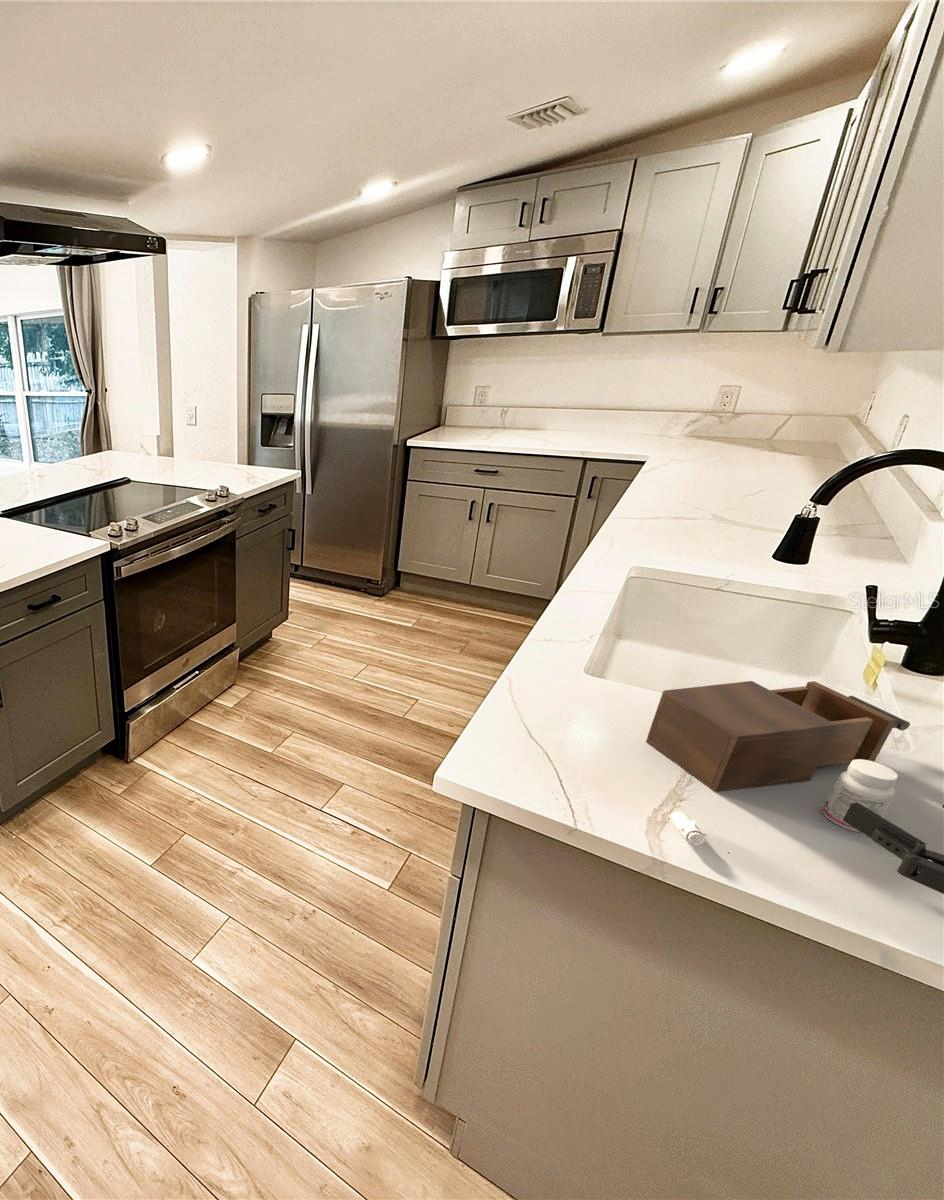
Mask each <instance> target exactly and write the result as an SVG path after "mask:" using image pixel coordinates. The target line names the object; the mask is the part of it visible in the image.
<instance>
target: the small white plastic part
mask: <svg viewBox="0 0 944 1200" xmlns="http://www.w3.org/2000/svg"><path fill="white" fill-rule="evenodd" d="M670 819H671V822H672V823H673V824H674V825H675V826H676V828H677V829H678V831H679V832H680V833H681V834H682V836H683V837H684V838H685V839H686V841H687V842H688V843H690V844H692V845H696V846H700V845H703V844H704V843H705V841H706V836H707V834H706V832H704V831H703V830H702V829H700V827H699V826H698V825H697V824H696V821H695V820H694V819H693V820H692V819H691V817H690V816H689V815H688V814H687V813H685V812H683V811H675V812H673V813H672V814H671V816H670Z"/></svg>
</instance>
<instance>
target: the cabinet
mask: <svg viewBox="0 0 944 1200" xmlns="http://www.w3.org/2000/svg"><path fill="white" fill-rule="evenodd" d="M770 690H771V689H768V688H767V687H765V686H763V685H761V684H759V683H757V682H755V681H753V680H748V681H739V682H728V683H720V684H712V685H702V686H701V685H700V686H692V687H684V688H675V689H673V688H672V689H666V690H665V689H664V690H662V693H661V696H660V699H659V702H658V705H657V708H656V711H655V714H654V716H653V719H652V723H651V725H650V728H649V731H648V733H647V738H646V739H645V742H646V744H648V745H649V746H651V747H652V748H654V749H655V750H656V751H658V752H659V753H661V754H662V755H663V756H665V757H666V758H667V759H669V760H670V761H672V762H673V763H674V764H676V765H677V766H679V767H680V768H682V769H683V770H684V771H686V772H687V773H688V774H690V775H691V776H693V777H694V778H695V779H696V780H698V781H699V782H701V783H702V784H703V785H705V786H706V787H708V788H709V789H710V790H712V791H713V792H714V793H720V792H725V791H734V790H744V789H751V788H760V787H768V786H776V785H784V784H791V783H792V784H793V783H799V782H808V781H811V780H812V778H813V775H814V774H815V771H816V769H817V768H818V766H817V765H818V763H819V761H820V759H821V757H822V755H823V753H824V751H825V749H826V747H827V745H828V743H829V741H830V739H831V737H832V735H833V733H834V731H835V729H836V727H837V725H836V724H834V723H832V722H830V721H828V720H826V719H825V718H823V717H821V716H819V715H817V714H815V713H813V712H811V711H809V710H807V709H805V708H803V707H801V706H799V705H797V704H796V703H794V702H792V701H790V700H788V699H786V698H784V697H782V696H780V695H778V694H776V693H774V692H772V691H770Z"/></svg>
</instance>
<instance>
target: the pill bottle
mask: <svg viewBox="0 0 944 1200" xmlns="http://www.w3.org/2000/svg"><path fill="white" fill-rule="evenodd" d="M898 779H899V775H898V773H897V772H896V771H895V770H894V769H892V768H891V767H888V766H887V765H884V764H882V763H879V762H877V761H874V762H873V761H869V760H862V759H857V760H854V759H853V761H852V762H849V765H848V767H847V769H846V771H843V772H841V773H840V774H839V776H838V778H837V779H836V782H835V783H834V786H833V788H832V789H831V792H830V793H829V795H828V798H827V799H826V801H825V804H824V805H823V807H822V813H823V815H824V817H826V818H827V819H828V820H829V821H830V822H832V823H833V824H835V825H837V826H839V827H841V828H843V829H846V830H849V831H852V832H857V833H861V832H860V831H859V830H857V829H856V828H854V827H852V826H851V825H849V824H848V823H846V822H845V821H843V818H844V817H845V815H846V813H847V811H848V809H849V807H850V805H851V804H852V803H856V802H858V803H859V804H861V805H863V806H864V807H866V808H868V809H869V810H871V811H873V812H874V813H876V814H878V815H879V816H881V817H883V816H884V814H885V812H886V811H887V808H888V807H889V805H890V803H891V802H892V800H893V799H894V796H895V794H896V792H895V789H894V787H895V786H896V783H897V781H898Z"/></svg>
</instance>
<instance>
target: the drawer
mask: <svg viewBox="0 0 944 1200" xmlns="http://www.w3.org/2000/svg"><path fill="white" fill-rule="evenodd" d="M769 690H770V691H772V692H774V693H776V694H778V695H780V696H782V697H784V698H786V699H788V700H790V701H792V702H794V703H796V704H797V705H799V706H801V707H803V708H805V709H807V710H809V711H811V712H813V713H815V714H817V715H819V716H821V717H823V718H825V719H826V720H828V721H830V722H832V723H834V724H836V725H837V727H836V729H835V731H834V733H833V735H832V737H831V739H830V741H829V743H828V745H827V747H826V749H825V751H824V753H823V755H822V757H821V759H820V761H819V763H818V765H817V767H821V766H830V765H839V764H846V763H847V764H848V763H851V762H852V761H853V760H857V759H862V760H869V761H873V762H876V760H877V758H878V755H879V754H880V752H881V750H882V748H883V746H884V745H885V743H886V741H887V739H888V737H889V735H890V734H891V732H892V730H893V729H897V730H898V731H901V732H902V731H906V730H907V729H908V728H910V725H911V723H910V722H909V721H908V720H905V719H903V718H902V717H900V716H897V715H895V714H892V713H890V712H888V711H886V710H884V709H881V708H879V707H878V706H876V705H873V704H871V703H869V702H868V701H867V702H866V701H865V700H863V699H861V698H859V697H856V696H854V695H848V696H847V695H845V694H843V693H841V692H839V691H837V690H835V689H832V688H830V687H828V686H826V685H825V684H821V683H819V682H817V681H816V680H813V681H812V680H811V681H807V682H806V684H805V686H795V687H786V688H776V689H769Z"/></svg>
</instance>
